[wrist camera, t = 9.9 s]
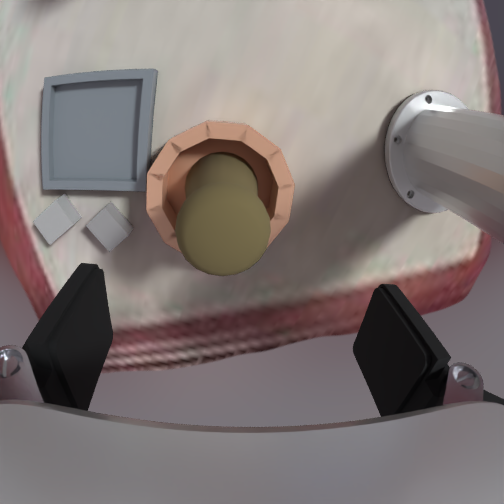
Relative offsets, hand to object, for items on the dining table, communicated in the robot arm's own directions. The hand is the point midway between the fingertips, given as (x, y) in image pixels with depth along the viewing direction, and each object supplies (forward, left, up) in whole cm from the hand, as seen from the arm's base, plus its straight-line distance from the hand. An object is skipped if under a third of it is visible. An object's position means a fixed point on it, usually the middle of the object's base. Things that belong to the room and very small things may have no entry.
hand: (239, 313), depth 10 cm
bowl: (+1, 0, -18) cm, 18 cm away
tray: (+12, -4, -18) cm, 22 cm away
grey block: (+10, +4, -18) cm, 21 cm away
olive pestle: (0, 0, -17) cm, 17 cm away
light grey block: (+16, +4, -18) cm, 24 cm away
